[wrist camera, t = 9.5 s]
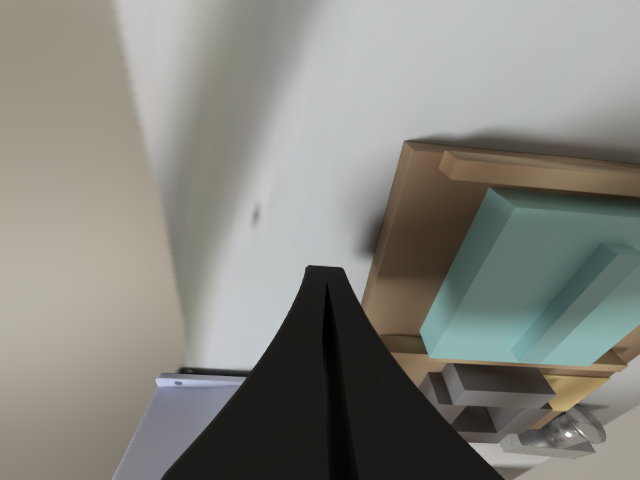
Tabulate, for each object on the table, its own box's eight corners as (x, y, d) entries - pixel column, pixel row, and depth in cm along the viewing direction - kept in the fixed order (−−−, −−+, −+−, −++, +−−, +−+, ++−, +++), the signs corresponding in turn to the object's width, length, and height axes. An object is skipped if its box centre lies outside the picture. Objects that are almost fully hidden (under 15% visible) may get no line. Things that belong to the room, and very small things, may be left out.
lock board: (334, 403, 21) (337, 450, 18) (405, 138, 9) (434, 165, 7) (529, 412, 22) (556, 458, 19) (805, 178, 10) (960, 215, 8)
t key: (537, 400, 20) (491, 422, 24) (558, 437, 18) (505, 456, 22) (612, 409, 21) (557, 430, 25) (640, 446, 19) (576, 463, 23)
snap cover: (419, 331, 14) (433, 370, 12) (488, 187, 9) (528, 216, 7) (565, 339, 14) (599, 378, 12) (699, 206, 10) (782, 238, 8)
